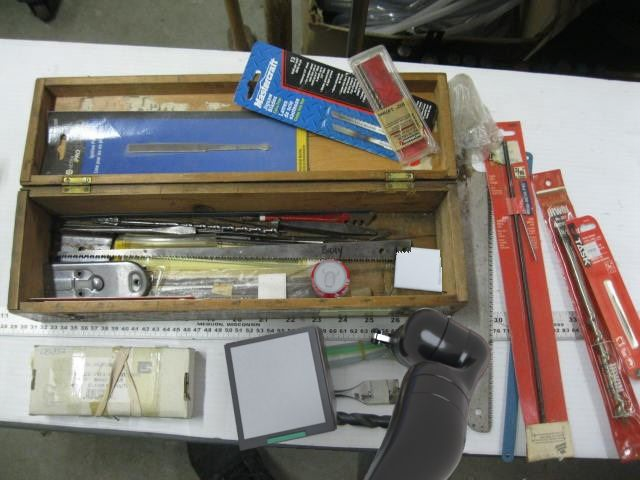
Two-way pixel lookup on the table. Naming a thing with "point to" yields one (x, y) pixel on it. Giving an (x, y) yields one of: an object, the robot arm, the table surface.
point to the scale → (278, 388)
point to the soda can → (330, 279)
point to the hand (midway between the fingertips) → (402, 344)
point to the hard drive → (418, 270)
